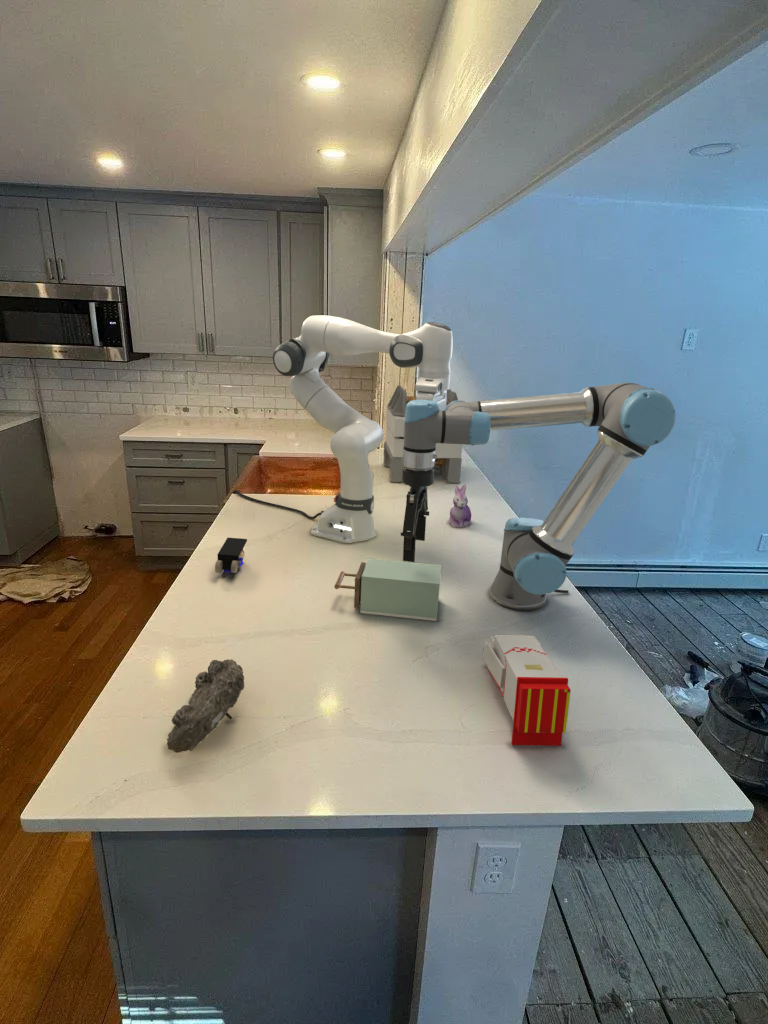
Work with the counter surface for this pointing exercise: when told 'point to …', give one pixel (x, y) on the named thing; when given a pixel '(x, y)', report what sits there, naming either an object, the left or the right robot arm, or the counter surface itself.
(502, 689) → the toy
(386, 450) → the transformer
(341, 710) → the counter surface
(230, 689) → the fossil
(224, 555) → the figurine character
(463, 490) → the figurine
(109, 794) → the counter surface
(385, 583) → the cabinet
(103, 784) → the counter surface
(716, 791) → the counter surface
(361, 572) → the drawer
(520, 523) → the right robot arm
